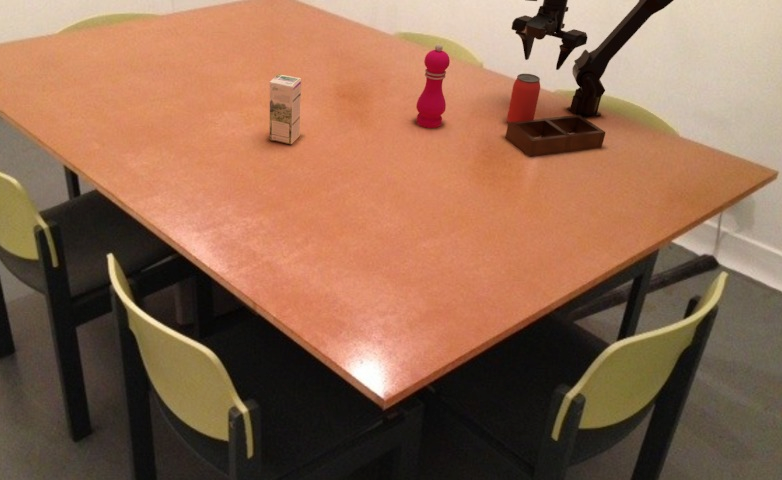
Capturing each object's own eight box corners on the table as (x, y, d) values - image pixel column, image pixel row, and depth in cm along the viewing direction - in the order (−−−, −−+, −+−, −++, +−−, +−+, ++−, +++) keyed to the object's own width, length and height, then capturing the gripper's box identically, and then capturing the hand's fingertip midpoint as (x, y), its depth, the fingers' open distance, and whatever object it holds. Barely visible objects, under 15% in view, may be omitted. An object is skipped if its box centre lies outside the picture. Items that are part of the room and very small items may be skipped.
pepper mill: (441, 130, 190) (453, 50, 179) (412, 126, 191) (422, 46, 180) (444, 119, 196) (455, 41, 185) (416, 115, 197) (425, 37, 186)
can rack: (575, 129, 196) (578, 114, 193) (601, 147, 187) (605, 132, 185) (505, 137, 189) (508, 122, 187) (529, 156, 181) (532, 140, 178)
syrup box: (300, 136, 183) (302, 76, 175) (291, 145, 179) (292, 85, 170) (278, 131, 185) (279, 72, 176) (268, 141, 180) (268, 81, 172)
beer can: (503, 117, 199) (512, 72, 193) (528, 117, 200) (537, 73, 193) (510, 127, 194) (519, 82, 187) (535, 128, 195) (545, 82, 188)
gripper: (505, -1, 190) (494, 61, 199) (571, 17, 180) (557, 82, 189) (529, -8, 197) (517, 52, 206) (595, 9, 187) (580, 72, 195)
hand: (541, 64), depth 199 cm, fingers open, 9 cm apart
